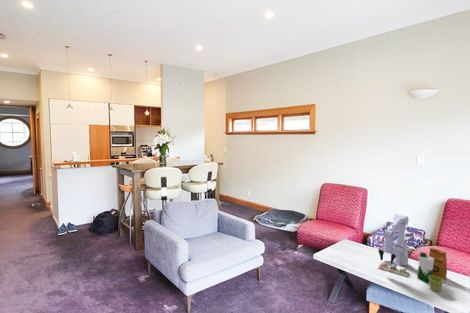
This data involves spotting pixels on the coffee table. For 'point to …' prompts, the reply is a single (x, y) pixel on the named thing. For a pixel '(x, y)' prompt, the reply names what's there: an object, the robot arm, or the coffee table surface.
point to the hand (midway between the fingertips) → (386, 261)
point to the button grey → (393, 267)
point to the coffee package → (439, 263)
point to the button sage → (403, 270)
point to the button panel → (393, 270)
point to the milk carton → (425, 267)
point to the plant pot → (435, 283)
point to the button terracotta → (384, 264)
